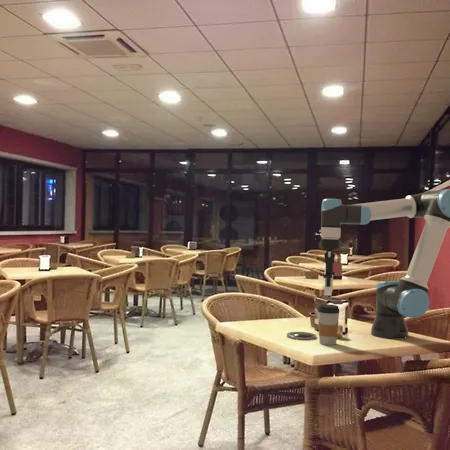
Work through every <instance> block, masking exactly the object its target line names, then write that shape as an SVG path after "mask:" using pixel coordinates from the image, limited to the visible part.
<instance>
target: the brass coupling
mask: <svg viewBox="0 0 450 450" xmlns="http://www.w3.org/2000/svg"><path fill="white" fill-rule="evenodd" d="M343 328H344V326H343V325H341V324H338V332H337V340H339V339H343V332H344V329H343Z"/></svg>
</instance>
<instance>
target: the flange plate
mask: <svg viewBox="0 0 450 450" xmlns="http://www.w3.org/2000/svg"><path fill="white" fill-rule="evenodd" d="M286 337H287V338H288V339H291V340H296V339H298V340H297V341H311V340H310V339H313V340H316V339H317V335H316V334H315V333H313V332H305V331H289V332H287V333H286ZM315 338H316V339H315Z"/></svg>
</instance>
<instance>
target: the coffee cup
mask: <svg viewBox="0 0 450 450" xmlns="http://www.w3.org/2000/svg"><path fill="white" fill-rule="evenodd" d="M317 312H318V314H317V315H318V338H319V344H320V345H322V346H335V345H336V344H337V340H338V339H337V332H338V325H339V316H340V308H339V306H338V305H335V304H327V303H326V304H325V303H324V304H319V305H318V308H317Z"/></svg>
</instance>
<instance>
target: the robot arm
mask: <svg viewBox="0 0 450 450" xmlns="http://www.w3.org/2000/svg"><path fill="white" fill-rule="evenodd" d="M320 212H321V213H320V216H321V219H320V222H321V223H320V224H321V225H320V229H319V233H320V238H321V239H320V243H319V248H320V249H326V251H325V253H324V255H323V257H324V264H325V271H324V272H325V273H324V274H323V277H322V278H323V279H324V294H323V295H324V296H331V297H332V293H333V288H334V287H333V286H334V285H333V283H334V276H335V273H336V272H335V271H334V269H333V268H334V264H335V259H336V253H334V250H339V249H341V234H342V233H341V232H342V230H341V225H360V226H361V225H368V224H369V223H370V222H371V221H376V220H385V219H395V218H401V217H402V218H403V217H407V218H409V219H412V218H415V219H416V218H423V219H424V221H425V224H424V226H423V228H422V231H421V234H420V237H419V239H418V242H417V244H416V248H415V249H414V253H413V255H412V259H411V260H410V262H409V266H408V268H407V272H406V274H405V276H402V277H401V278H400V279H399V280H398V281H396V280H395V281H394V280H393V281H391V280H389V281H385V280H384V281H379V282H378V281H377V283H376V289H375V292H376V293H375V298H376V299H375V318H374V321H373V323H372V325H371V328H370V330H371V331H370V334H371V335H372V336H375V337H377V338H382V337H383V339H391V338H403V339H406V338H405V337H407V338H408V337H409V330H408V326H407V323H406V320H405V317H406V318H412V319H413V318H420V317H421V316H423V315H425V314H426V313H427V311H428V310H429V307H430V304H431V302H430V300H431V299H430V297H429V294H428V293H429V290H430V288H429V286H428V282H429V279H430V277H431V273H432V271H433V268H434V266H435V264H436V260H437V258H438V256H439V253H440V250H441V247H442V244H443V243H444V242H443V241H444V239H445V236H446V234H447V231H448V229H450V189H449V188H444V189H439V190H429V191H424V192H421V193H417V194H413V195H412V194H411V195H406V196H405V197H404V198H399V199H398V198H396V199H389V200H380V201H374V202H372V201H371V202H365V203H363V202H362V203H355V204H343V203H342V200H341V198H340V199H339V198H324V199H322V202H321V210H320Z"/></svg>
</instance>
